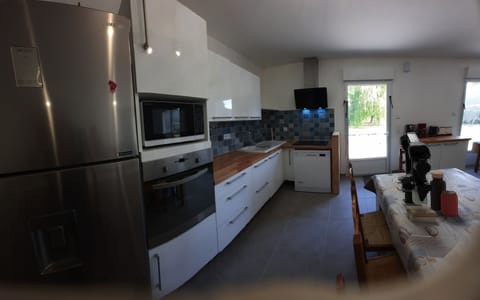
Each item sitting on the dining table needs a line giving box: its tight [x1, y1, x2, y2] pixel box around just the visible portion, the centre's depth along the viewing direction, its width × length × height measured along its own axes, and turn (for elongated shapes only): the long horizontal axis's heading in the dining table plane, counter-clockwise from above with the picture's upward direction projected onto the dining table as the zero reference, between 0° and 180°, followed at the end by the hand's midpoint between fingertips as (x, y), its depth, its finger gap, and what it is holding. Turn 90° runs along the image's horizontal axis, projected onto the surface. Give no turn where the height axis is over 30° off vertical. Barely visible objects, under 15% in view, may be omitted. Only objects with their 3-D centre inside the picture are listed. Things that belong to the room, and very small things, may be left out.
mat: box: [404, 212, 440, 225], centre depth 121 cm, size 14×11×1 cm
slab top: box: [405, 205, 438, 218], centre depth 120 cm, size 10×10×2 cm
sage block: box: [412, 190, 429, 206], centre depth 120 cm, size 5×5×6 cm
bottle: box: [429, 171, 447, 212], centre depth 129 cm, size 7×7×20 cm
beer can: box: [440, 189, 459, 217], centre depth 121 cm, size 7×7×12 cm
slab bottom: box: [406, 211, 437, 222], centre depth 120 cm, size 10×10×2 cm
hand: (419, 199), depth 120 cm, fingers closed on sage block, 5 cm apart
